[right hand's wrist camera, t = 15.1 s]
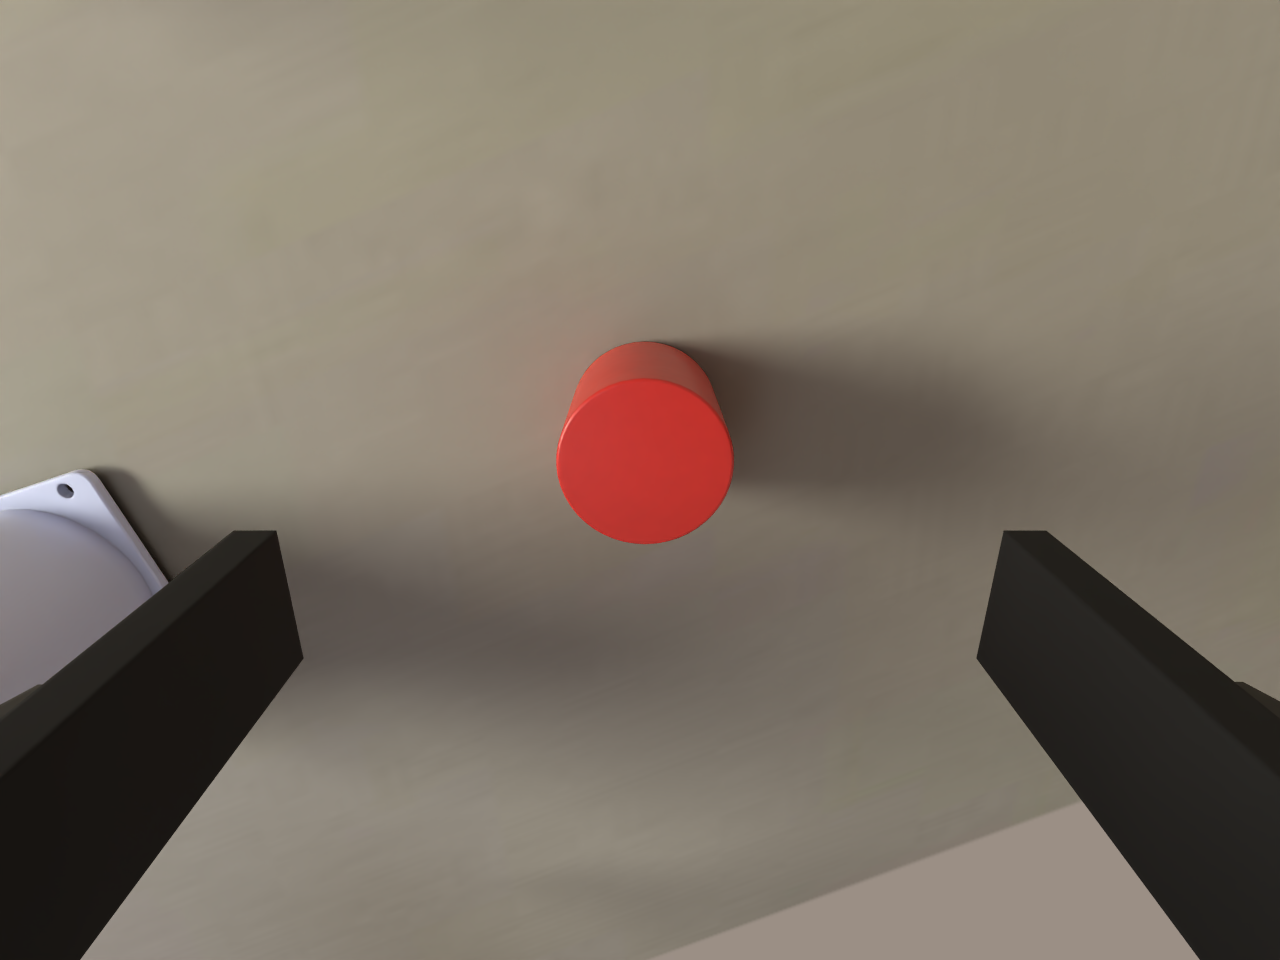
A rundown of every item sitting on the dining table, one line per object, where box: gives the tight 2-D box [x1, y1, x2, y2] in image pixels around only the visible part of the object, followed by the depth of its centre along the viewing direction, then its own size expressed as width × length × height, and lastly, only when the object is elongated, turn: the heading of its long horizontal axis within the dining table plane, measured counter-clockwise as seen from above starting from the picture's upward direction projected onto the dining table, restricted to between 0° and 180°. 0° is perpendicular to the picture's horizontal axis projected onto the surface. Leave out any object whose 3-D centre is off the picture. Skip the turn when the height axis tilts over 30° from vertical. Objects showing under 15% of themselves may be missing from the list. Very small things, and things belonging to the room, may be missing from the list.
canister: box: [556, 342, 734, 544], centre depth 20 cm, size 5×5×5 cm
